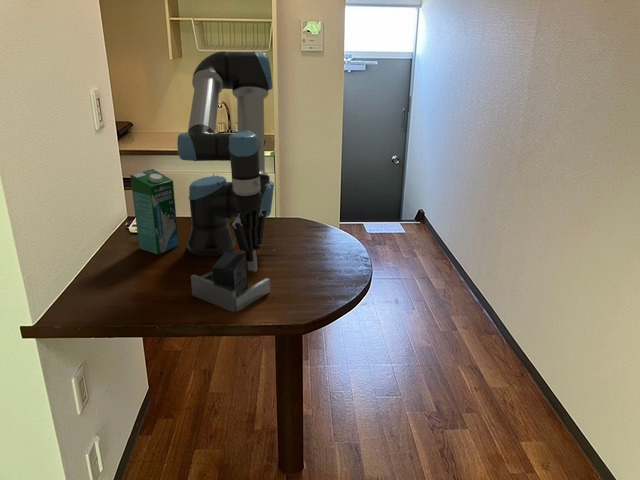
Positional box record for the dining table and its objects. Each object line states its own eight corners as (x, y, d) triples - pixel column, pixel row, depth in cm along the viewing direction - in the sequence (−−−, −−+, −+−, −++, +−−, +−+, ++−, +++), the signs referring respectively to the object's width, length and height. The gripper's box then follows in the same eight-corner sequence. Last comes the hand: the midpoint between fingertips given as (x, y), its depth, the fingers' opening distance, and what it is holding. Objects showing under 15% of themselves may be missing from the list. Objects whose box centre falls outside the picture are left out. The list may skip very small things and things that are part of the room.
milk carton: (158, 254, 169) (150, 179, 159) (138, 248, 173) (129, 174, 164) (179, 245, 176) (172, 172, 166) (160, 239, 180) (152, 168, 171)
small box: (226, 284, 151) (224, 250, 147) (248, 286, 150) (247, 252, 146) (213, 301, 142) (210, 266, 138) (236, 304, 141) (234, 268, 137)
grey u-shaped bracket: (190, 294, 145) (189, 275, 143) (226, 276, 156) (225, 257, 153) (235, 313, 136) (234, 292, 134) (270, 291, 147) (269, 272, 145)
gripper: (242, 200, 135) (248, 282, 144) (272, 187, 144) (276, 265, 154) (220, 195, 139) (227, 275, 148) (251, 183, 148) (256, 259, 158)
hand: (252, 270), depth 151 cm, fingers closed
